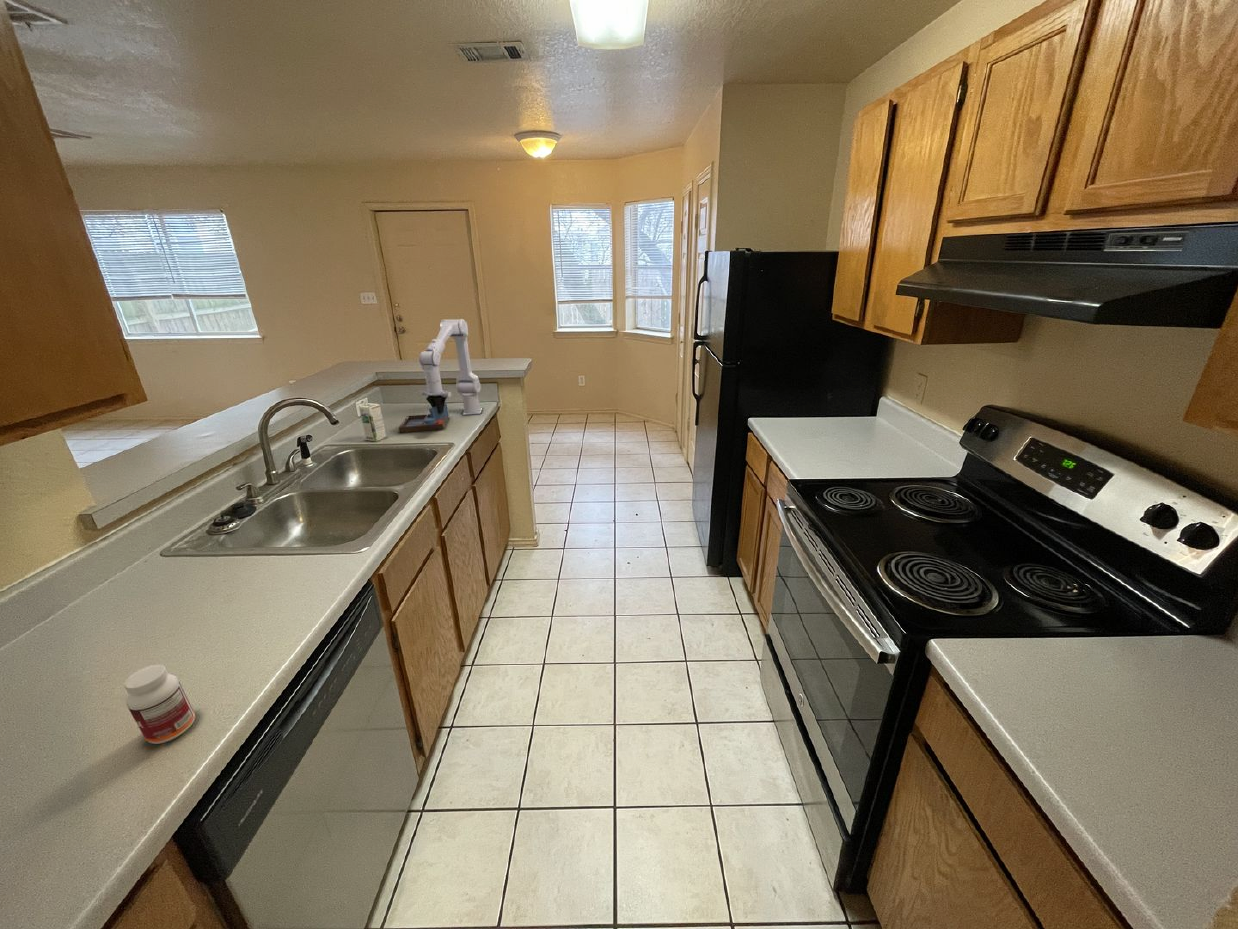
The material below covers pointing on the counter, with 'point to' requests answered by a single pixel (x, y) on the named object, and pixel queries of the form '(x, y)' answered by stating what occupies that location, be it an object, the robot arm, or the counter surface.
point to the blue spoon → (436, 415)
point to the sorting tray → (420, 424)
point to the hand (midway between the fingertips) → (439, 412)
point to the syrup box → (372, 421)
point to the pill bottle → (158, 704)
